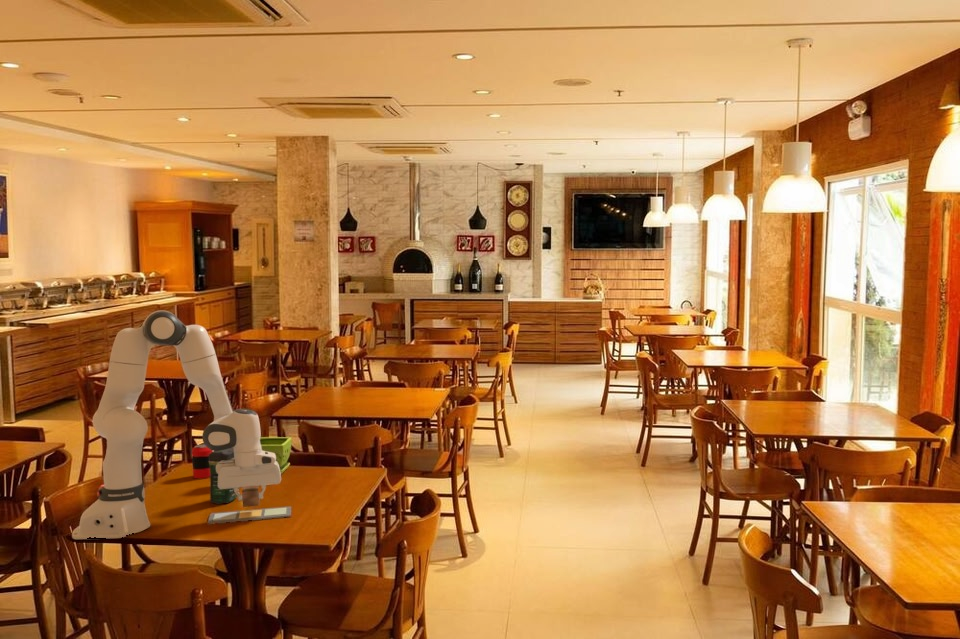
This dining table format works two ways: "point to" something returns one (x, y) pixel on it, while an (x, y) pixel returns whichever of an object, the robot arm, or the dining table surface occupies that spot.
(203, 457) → the soda can
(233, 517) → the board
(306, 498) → the dining table surface
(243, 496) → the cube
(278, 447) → the flower pot
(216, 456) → the coffee jar
